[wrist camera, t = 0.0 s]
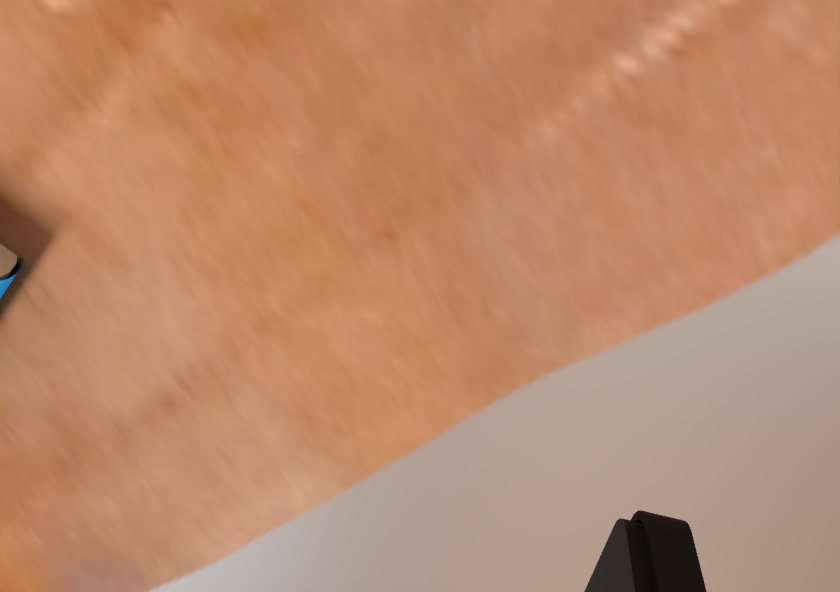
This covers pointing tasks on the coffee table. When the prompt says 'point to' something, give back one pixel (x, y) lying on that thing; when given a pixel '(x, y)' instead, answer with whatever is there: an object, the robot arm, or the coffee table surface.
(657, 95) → the coffee table surface
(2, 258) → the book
